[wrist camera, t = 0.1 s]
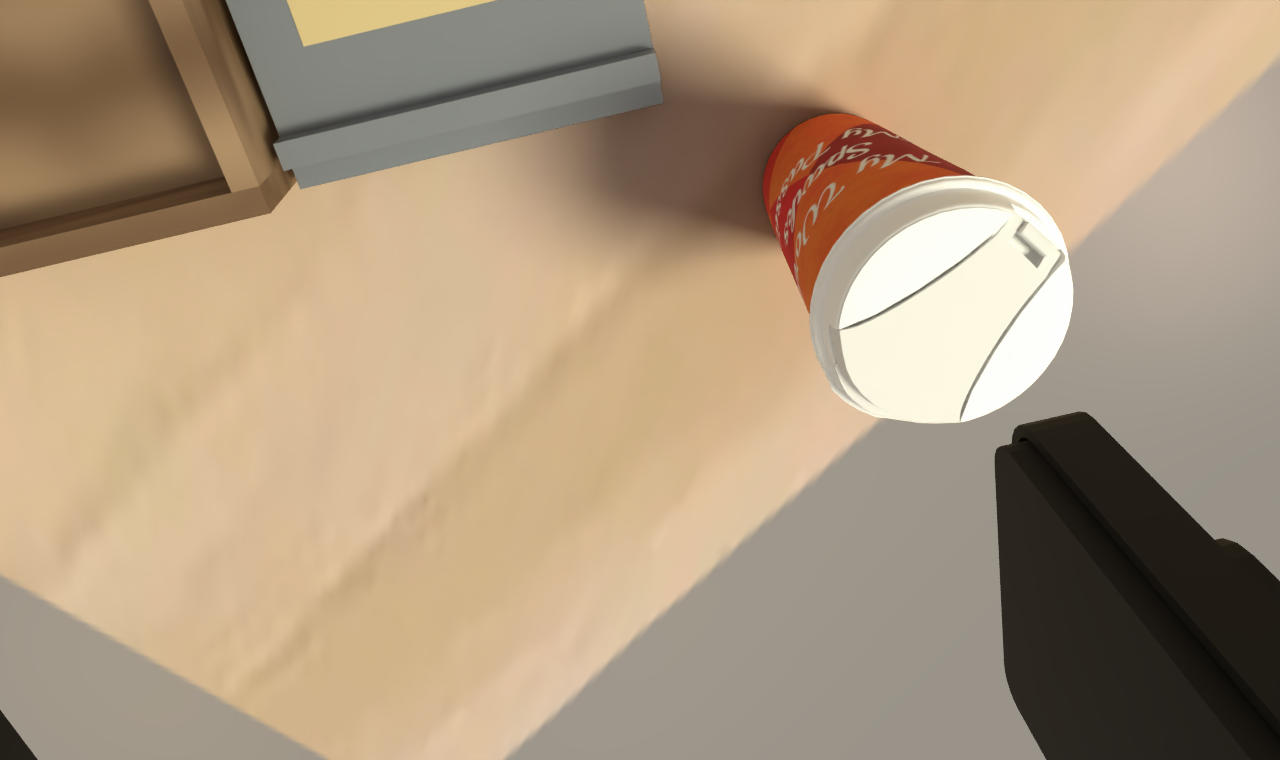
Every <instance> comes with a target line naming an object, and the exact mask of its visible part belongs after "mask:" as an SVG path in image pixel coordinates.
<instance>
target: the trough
mask: <svg viewBox="0 0 1280 760" xmlns="http://www.w3.org/2000/svg"><path fill="white" fill-rule="evenodd" d="M279 138H280V137H279V135H278V132H277V130H276V127H275V124H274V122H273V119H272V117H271V114H270V112H269V109H268V107H267V104H266V102H265V99H264V97H263V94H262V92H261V89H260V87H259V84H258V82H257V79H256V76H255V74H254V71H253V69H252V66H251V64H250V61H249V59H248V56H247V54H246V51H245V49H244V46H243V44H242V41H241V39H240V36H239V33H238V31H237V28H236V26H235V23H234V21H233V18H232V16H231V13H230V11H229V8H228V6H227V3H226V1H225V0H0V277H3V276H7V275H11V274H15V273H20V272H24V271H28V270H32V269H37V268H41V267H45V266H49V265H53V264H58V263H62V262H66V261H70V260H75V259H79V258H83V257H87V256H91V255H96V254H100V253H104V252H108V251H113V250H117V249H121V248H125V247H130V246H134V245H138V244H142V243H146V242H151V241H155V240H159V239H163V238H168V237H172V236H176V235H180V234H184V233H189V232H193V231H197V230H201V229H206V228H210V227H214V226H218V225H223V224H227V223H231V222H235V221H239V220H244V219H248V218H252V217H256V216H261V215H265V214H269V213H271V212H272V211H273V210H274V208H275V207H276V206H277V205H278V203H279V202H280V201H281V200H282V199H283V197H284V196H285V195H286V194H287V192H288V191H289V190H290V189H291V187H292V186H293V185H294V184H295V183H296V181H297V180H296V178H295V175H294V172H293V170H292V169H290V170H286V171H284V170H283V168H282V166H281V163H280V161H279V158H278V156H277V153H276V151H275V148H274V146H273V144H274V143H275V142H276V141H277V140H278V139H279Z"/></svg>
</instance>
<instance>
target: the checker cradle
mask: <svg viewBox="0 0 1280 760" xmlns="http://www.w3.org/2000/svg"><path fill="white" fill-rule="evenodd" d="M226 2H227V5H228V7H229V10H230V12H231V15H232V18H233V20H234V23H235V25H236V28H237V30H238V33H239V35H240V38H241V40H242V43H243V45H244V48H245V50H246V53H247V55H248V58H249V60H250V63H251V66H252V68H253V71H254V73H255V76H256V78H257V81H258V83H259V86H260V88H261V91H262V93H263V96H264V98H265V101H266V103H267V106H268V109H269V111H270V114H271V116H272V119H273V121H274V124H275V126H276V129H277V131H278V134H279V136H280V138H279V139H278V140H277V141H276V142H275V143H274V144H273V146H274V148H275V151H276V153H277V156H278V158H279V161H280V163H281V166H282V168H283V170H284V171H286V170H290V169H293V172H294V174H295V177H296V179H297V182H298V184H299V187H300V189H303V188H308V187H312V186H316V185H320V184H325V183H329V182H333V181H337V180H341V179H346V178H350V177H354V176H358V175H363V174H367V173H371V172H375V171H379V170H384V169H388V168H392V167H396V166H401V165H405V164H409V163H413V162H417V161H422V160H426V159H430V158H434V157H438V156H443V155H447V154H451V153H455V152H460V151H464V150H468V149H472V148H476V147H481V146H485V145H489V144H493V143H498V142H502V141H506V140H510V139H514V138H519V137H523V136H527V135H531V134H535V133H540V132H544V131H548V130H552V129H557V128H561V127H565V126H569V125H573V124H578V123H582V122H586V121H590V120H595V119H599V118H603V117H607V116H611V115H616V114H620V113H624V112H628V111H632V110H637V109H641V108H645V107H649V106H654V105H658V104H662V103H664V100H663V95H662V90H661V85H660V81H661V77H660V72H659V67H658V61H657V56H656V52H655V51H654V49H653V45H652V40H651V35H650V30H649V25H648V20H647V15H646V10H645V5H644V0H226Z"/></svg>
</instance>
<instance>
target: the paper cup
mask: <svg viewBox="0 0 1280 760" xmlns="http://www.w3.org/2000/svg"><path fill="white" fill-rule="evenodd" d="M763 198H764V203H765V207H766V210H767V214H768V216H769V219H770V222H771V225H772V227H773V230H774V232H775V235H776V237H777V239H778V242H779V244H780V247H781V249H782V251H783V254H784V256H785V259H786V261H787V263H788V266H789V268H790V270H791V273H792V275H793V277H794V280H795V282H796V284H797V286H798V289H799V291H800V293H801V296H802V298H803V300H804V303H805V305H806V307H807V310H808V312H809V314H810V319H809V323H810V332H811V340H812V344H813V347H814V350H815V353H816V357H817V359H818V361H819V363H820V365H821V367H822V369H823V370H824V372H825V375H826V377H827V379H828V381H829V384H830V386H831V388H832V390H833V391H834V392H835V393H836V394H837V395H838V396H840V397H841V398H842V399H843V400H844V401H845V402H847V403H848V404H850V405H852V406H853V407H855V408H857V409H858V410H860V411H862V412H865V413H867V414H870V415H872V416H875V417H881V418H890V419H897V420H904V421H913V422H917V423H958V422H964V421H969V420H972V419H974V418H977V417H980V416H983V415H986V414H988V413H990V412H992V411H994V410H996V409H998V408H1000V407H1002V406H1004V405H1005V404H1007V403H1008V402H1010V401H1011V400H1013V399H1014V398H1016V397H1017V396H1019V395H1020V394H1021V393H1022V392H1023V391H1025V390H1026V389H1027V388H1028V387H1029V386H1031V385H1032V384H1033V383H1034V382H1035V380H1036V379H1037V378H1038V377H1039V376H1040V375H1041V374H1042V373H1043V372H1044V371H1045V369H1046V368H1047V366H1048V365H1049V364H1050V362H1051V361H1052V359H1053V358H1054V356H1055V355H1056V353H1057V351H1058V349H1059V347H1060V345H1061V344H1062V342H1063V339H1064V337H1065V334H1066V331H1067V328H1068V325H1069V322H1070V316H1071V311H1072V306H1073V284H1072V277H1071V271H1070V268H1069V261H1068V254H1067V249H1066V246H1065V243H1064V241H1063V238H1062V235H1061V232H1060V231H1059V229H1058V227H1057V226H1056V224H1055V222H1054V220H1053V219H1052V217H1051V216H1050V215H1049V214H1048V213H1047V212H1046V210H1045V209H1044V208H1043V207H1042V206H1041V205H1040V204H1039V203H1038V202H1037V201H1035V200H1034V199H1033V198H1031V197H1030V196H1029V195H1028V194H1026V193H1025V192H1023V191H1021V190H1019V189H1017V188H1015V187H1013V186H1011V185H1009V184H1007V183H1005V182H1001V181H998V180H994V179H991V178H987V177H979V176H974V175H973V174H971V173H969V172H967V171H966V170H964V169H962V168H960V167H958V166H956V165H953V164H951V163H949V162H947V161H945V160H943V159H941V158H939V157H937V156H935V155H933V154H931V153H929V152H927V151H925V150H923V149H922V148H920V147H918V146H916V145H914V144H912V143H911V142H909V141H907V140H905V139H903V138H902V137H900V136H898V135H896V134H894V133H892V132H890V131H888V130H886V129H885V128H883V127H881V126H879V125H877V124H874V123H872V122H870V121H868V120H866V119H863V118H860V117H857V116H854V115H849V114H839V113H836V114H825V115H820V116H817V117H814V118H811V119H809V120H806V121H804V122H802V123H801V124H799V125H797V126H796V127H794V128H793V129H792V130H791V131H789V132H788V133H787V134H786V135H785V136H784V137H783V138H782V139H781V140H780V142H779V143H778V144H777V146H776V147H775V148H774V150H773V152H772V154H771V155H770V158H769V160H768V162H767V165H766V168H765V172H764V178H763Z"/></svg>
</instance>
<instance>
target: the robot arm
mask: <svg viewBox="0 0 1280 760" xmlns="http://www.w3.org/2000/svg"><path fill="white" fill-rule="evenodd" d="M995 479H996V500H997V522H998V544H999V562H1000V563H999V565H1000V585H1001V606H1002V628H1003V648H1004V666H1005V673H1006V678H1007V682H1008V685H1009V688H1010V691H1011V694H1012V696H1013V699H1014V701H1015V703H1016V705H1017V708H1018V710H1019V711H1020V713H1021V715H1022V717H1023V718H1024V720H1025V722H1026V724H1027V726H1028V727H1029V729H1030V731H1031V733H1032V734H1033V736H1034V738H1035V740H1036V741H1037V743H1038V745H1039V747H1040V749H1041V751H1042V753H1043V754H1044V756H1045V758H1046V760H1280V581H1279V580H1278V579H1277V578H1276V577H1275V576H1274V575H1273V574H1272V573H1271V572H1270V571H1269V570H1268V569H1267V568H1266V567H1265V566H1264V565H1263V564H1262V563H1261V562H1260V561H1259V560H1257V559H1256V558H1255V557H1254V556H1253V555H1252V554H1250V552H1248V551H1247V550H1246V549H1244V548H1243V547H1242V546H1240V545H1239V544H1238V543H1236V542H1233V541H1230V540H1226V539H1223V538H1222V539H1217V540H1214V539H1213V538H1212V537H1211V536H1210V535H1209V534H1208V533H1207V532H1206V531H1205V530H1204V529H1203V528H1202V527H1201V526H1200V525H1199V524H1198V523H1197V522H1196V521H1195V520H1194V519H1193V518H1192V517H1191V516H1190V515H1189V514H1188V513H1187V512H1186V511H1185V510H1184V509H1183V508H1182V507H1181V506H1180V505H1179V504H1178V503H1177V502H1176V501H1175V500H1174V499H1173V498H1172V497H1171V496H1170V495H1169V494H1168V493H1167V492H1166V491H1165V490H1164V489H1163V488H1162V487H1161V486H1160V485H1159V484H1158V483H1157V482H1156V480H1154V478H1153V477H1151V476H1150V474H1149V473H1148V472H1147V471H1145V469H1144V468H1143V467H1142V466H1141V465H1140V464H1139V463H1138V462H1137V461H1136V460H1135V459H1133V458H1132V456H1131V455H1130V454H1129V453H1128V452H1127V451H1126V450H1125V449H1124V448H1123V447H1122V446H1121V445H1120V444H1118V442H1117V441H1116V440H1115V439H1114V438H1113V437H1112V436H1111V435H1110V434H1109V433H1108V432H1107V431H1106V430H1105V429H1104V428H1103V427H1102V426H1101V425H1100V424H1099V423H1098V422H1097V421H1096V420H1095V419H1094V418H1093V417H1091V416H1090V415H1089V414H1087V413H1086V412H1075V413H1071V414H1067V415H1062V416H1058V417H1053V418H1049V419H1044V420H1040V421H1035V422H1031V423H1027V424H1022V425H1019V426H1017V427H1016V428H1015V430H1014V433H1013V436H1012V444H1009V445H1005V446H1000V447H999V448H997V450H996V453H995ZM0 760H37V758H36V757H35V756H34V754H33V753H32V752H31V750H30V749H29V748H28V746H27V745H26V744H25V742H24V741H23V740H22V738H21V737H20V736H19V734H18V733H17V732H16V730H15V729H14V728H13V726H12V725H11V724H10V722H9V721H8V720H7V718H6V717H5V716H4V714H3V713H2V712H1V710H0Z"/></svg>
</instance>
